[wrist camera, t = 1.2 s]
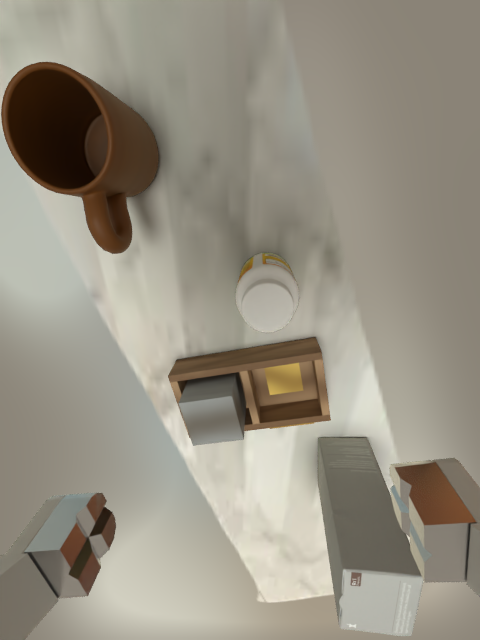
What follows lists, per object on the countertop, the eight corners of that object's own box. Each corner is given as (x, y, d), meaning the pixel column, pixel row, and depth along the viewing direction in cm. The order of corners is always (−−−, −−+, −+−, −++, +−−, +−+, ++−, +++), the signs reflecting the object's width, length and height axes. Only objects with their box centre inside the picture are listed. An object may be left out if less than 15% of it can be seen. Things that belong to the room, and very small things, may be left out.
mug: (185, 234, 30) (153, 247, 21) (116, 250, 31) (59, 269, 22) (145, 94, 26) (86, 39, 17) (67, 118, 27) (-26, 78, 18)
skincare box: (363, 482, 41) (421, 640, 26) (310, 481, 41) (337, 636, 27) (369, 433, 38) (438, 582, 23) (311, 433, 38) (342, 579, 23)
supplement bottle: (249, 308, 32) (244, 349, 23) (233, 261, 31) (221, 285, 22) (297, 294, 31) (311, 331, 22) (284, 244, 30) (293, 263, 21)
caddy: (176, 359, 35) (159, 392, 29) (315, 337, 33) (327, 367, 27) (196, 419, 38) (184, 460, 32) (324, 402, 36) (337, 442, 30)
